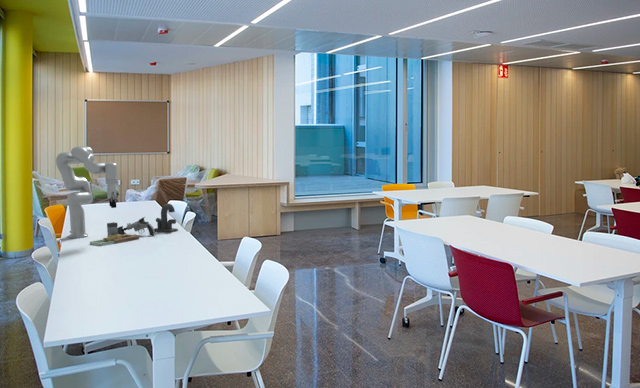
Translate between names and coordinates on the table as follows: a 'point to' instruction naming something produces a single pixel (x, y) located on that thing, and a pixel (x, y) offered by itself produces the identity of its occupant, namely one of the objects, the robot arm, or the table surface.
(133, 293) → the table surface
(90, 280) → the table surface
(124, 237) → the slot board
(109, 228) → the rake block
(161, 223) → the faucet
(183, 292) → the table surface
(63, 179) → the robot arm
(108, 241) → the tan wooden cube
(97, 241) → the tray
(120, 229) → the gun
